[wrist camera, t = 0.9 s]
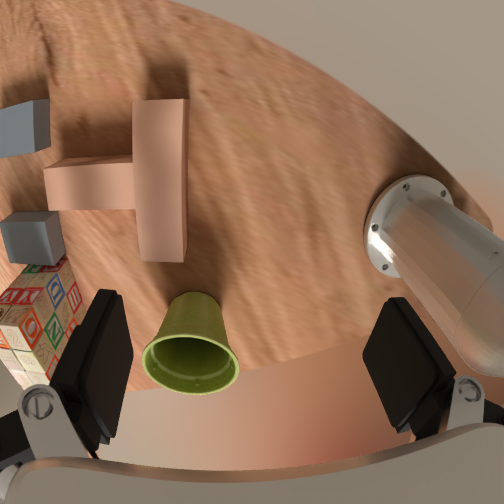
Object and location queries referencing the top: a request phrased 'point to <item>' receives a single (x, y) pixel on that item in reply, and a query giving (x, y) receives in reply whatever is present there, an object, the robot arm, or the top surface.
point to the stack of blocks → (38, 321)
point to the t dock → (36, 222)
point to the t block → (136, 179)
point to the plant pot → (191, 348)
